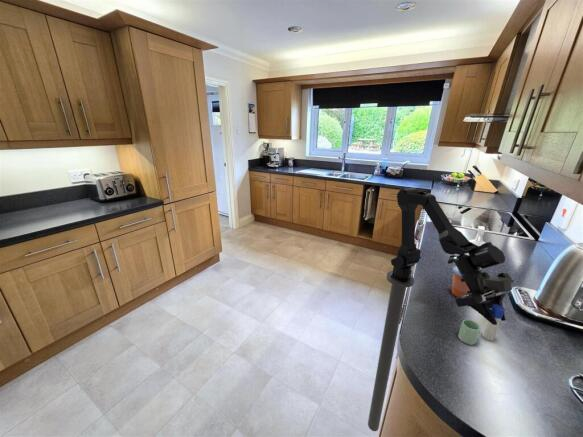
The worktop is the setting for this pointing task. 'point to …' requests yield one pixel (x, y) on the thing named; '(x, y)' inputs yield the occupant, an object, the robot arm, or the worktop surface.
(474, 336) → the glass
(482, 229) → the white bottle
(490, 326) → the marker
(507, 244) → the worktop surface
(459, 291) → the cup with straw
